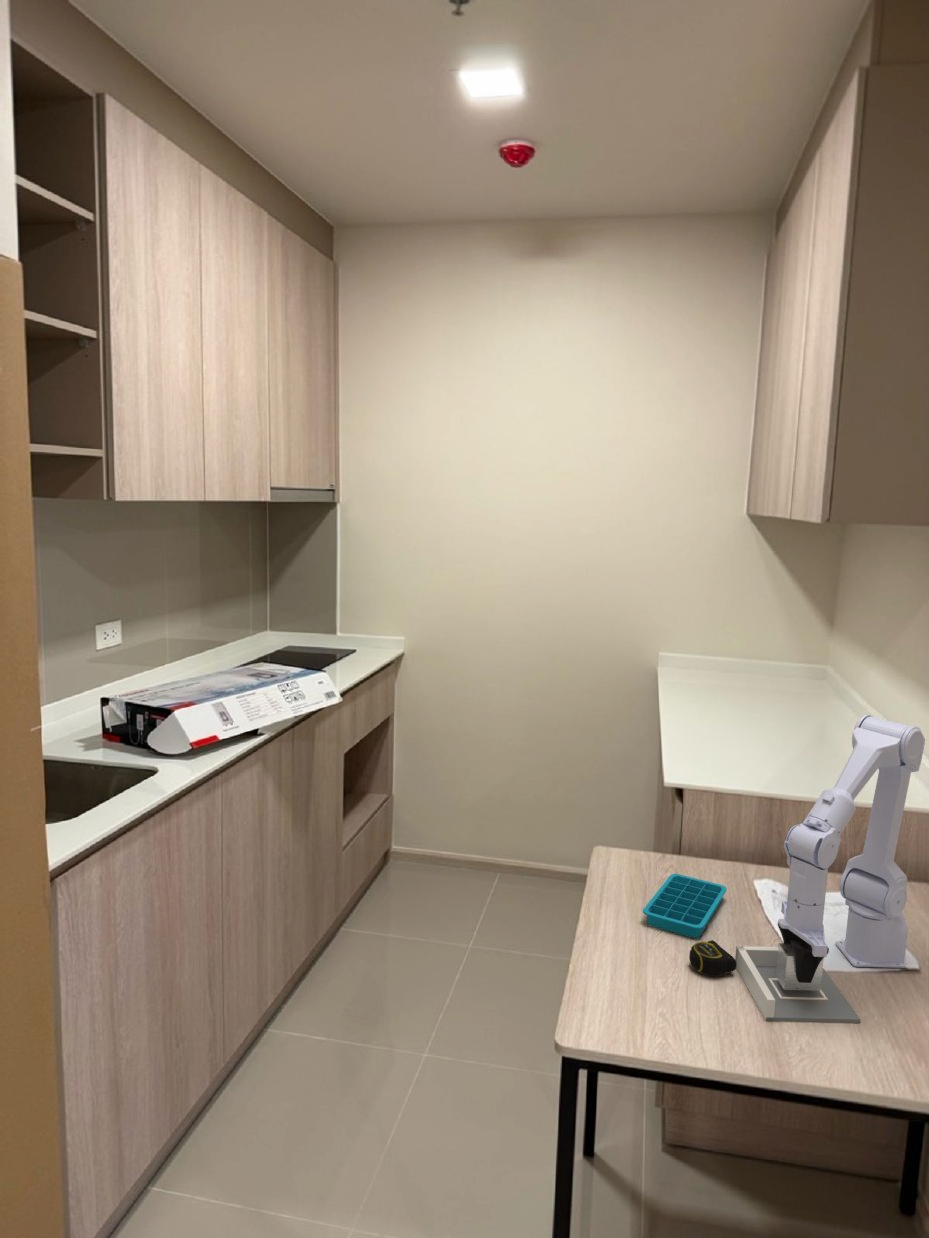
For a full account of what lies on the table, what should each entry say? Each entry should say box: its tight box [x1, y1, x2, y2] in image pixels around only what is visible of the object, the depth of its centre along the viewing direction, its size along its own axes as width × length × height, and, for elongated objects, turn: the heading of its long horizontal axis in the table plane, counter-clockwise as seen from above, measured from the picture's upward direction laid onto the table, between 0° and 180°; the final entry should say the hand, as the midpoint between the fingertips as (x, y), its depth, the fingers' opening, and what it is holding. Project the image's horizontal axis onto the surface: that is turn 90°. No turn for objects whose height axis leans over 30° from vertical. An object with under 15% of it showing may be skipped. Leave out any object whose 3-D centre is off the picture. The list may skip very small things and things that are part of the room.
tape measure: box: [688, 939, 737, 977], centre depth 152 cm, size 7×7×4 cm
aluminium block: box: [776, 942, 825, 991], centre depth 145 cm, size 4×6×6 cm, turn 90°
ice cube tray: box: [642, 873, 728, 939], centre depth 172 cm, size 12×20×3 cm, turn 150°
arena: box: [734, 945, 862, 1024], centre depth 145 cm, size 15×16×4 cm
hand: (798, 973), depth 145 cm, fingers closed on aluminium block, 4 cm apart
